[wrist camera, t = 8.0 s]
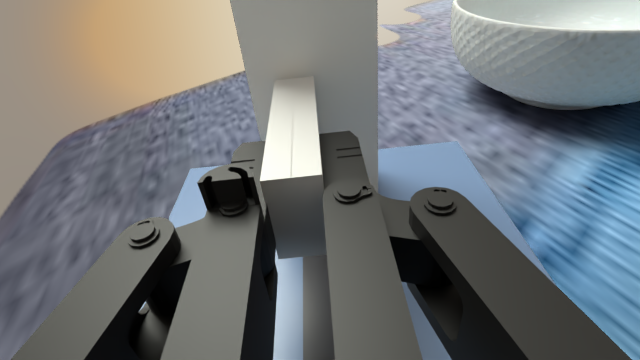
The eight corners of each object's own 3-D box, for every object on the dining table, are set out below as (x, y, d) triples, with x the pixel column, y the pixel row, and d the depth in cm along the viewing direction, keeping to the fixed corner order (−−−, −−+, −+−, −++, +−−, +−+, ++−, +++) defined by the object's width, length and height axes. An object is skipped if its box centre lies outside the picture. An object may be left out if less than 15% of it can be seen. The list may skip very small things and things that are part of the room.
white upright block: (378, 198, 18) (376, -220, 10) (275, 208, 18) (187, -196, 10) (369, 164, 20) (361, -192, 12) (278, 173, 20) (210, -173, 12)
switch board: (658, 493, 10) (688, 473, 9) (63, 541, 10) (30, 525, 9) (454, 162, 23) (457, 139, 22) (197, 188, 23) (190, 167, 22)
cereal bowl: (403, 101, 31) (407, 9, 26) (497, 46, 39) (510, -30, 35) (664, 175, 20) (738, 41, 16) (713, 77, 29) (769, -26, 24)
